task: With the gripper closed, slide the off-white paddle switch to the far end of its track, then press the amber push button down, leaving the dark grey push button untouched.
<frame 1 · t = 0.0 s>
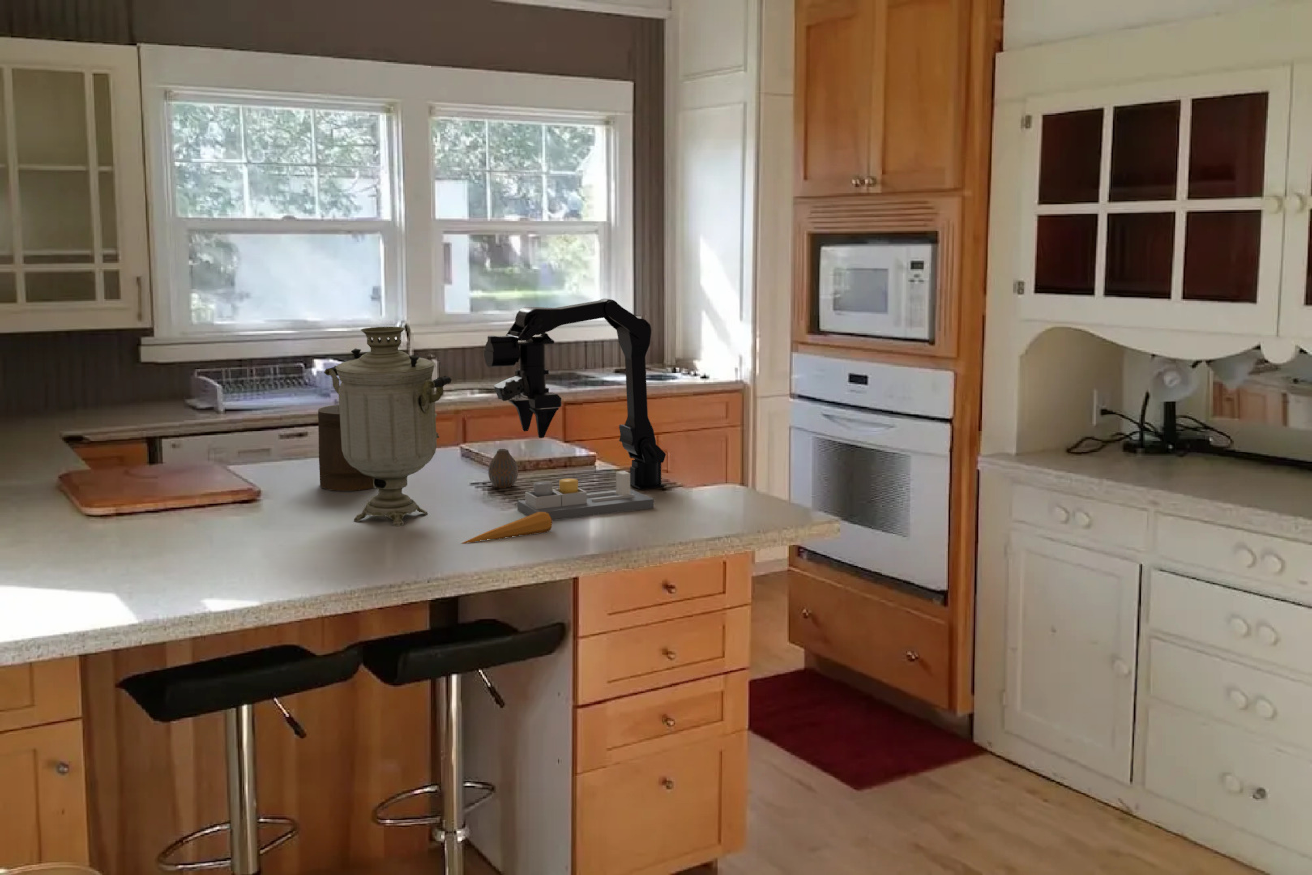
hand: (533, 434, 279), 15 cm above the worktop, fingers open, 9 cm apart
vase: (503, 487, 294), on the worktop
wooden container: (352, 485, 295), on the worktop
panel: (585, 508, 272), on the worktop
slider paddle: (623, 483, 276), point 5 cm above the worktop, slide at 0.0 cm
amber button: (568, 487, 270), point 5 cm above the worktop, slide at 0.0 cm
carrot: (505, 538, 250), on the worktop
grey button: (542, 490, 267), point 5 cm above the worktop, slide at 0.0 cm
samovar: (403, 516, 266), on the worktop
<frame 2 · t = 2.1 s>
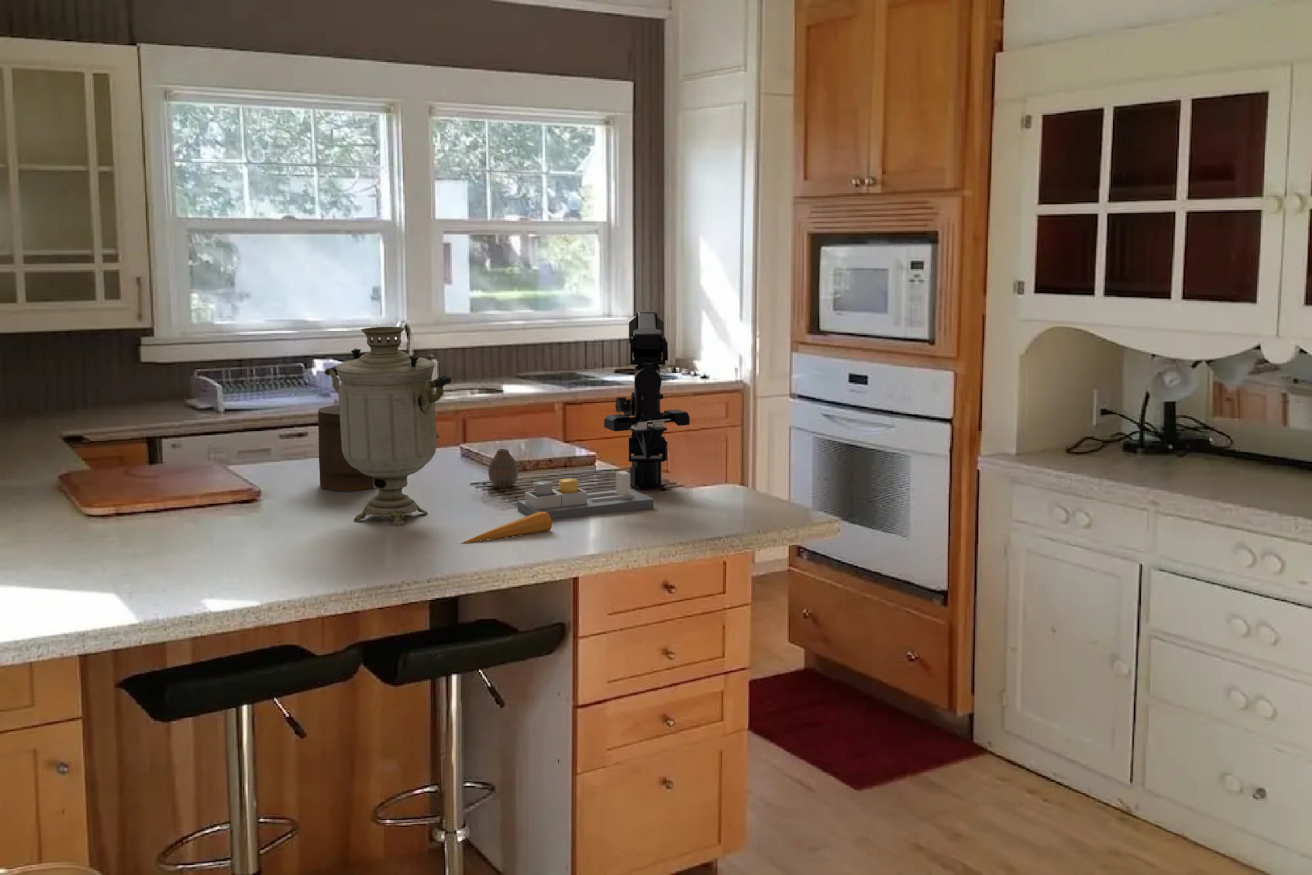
hand: (647, 458, 277), 10 cm above the worktop, fingers closed
nothing on the worktop moved.
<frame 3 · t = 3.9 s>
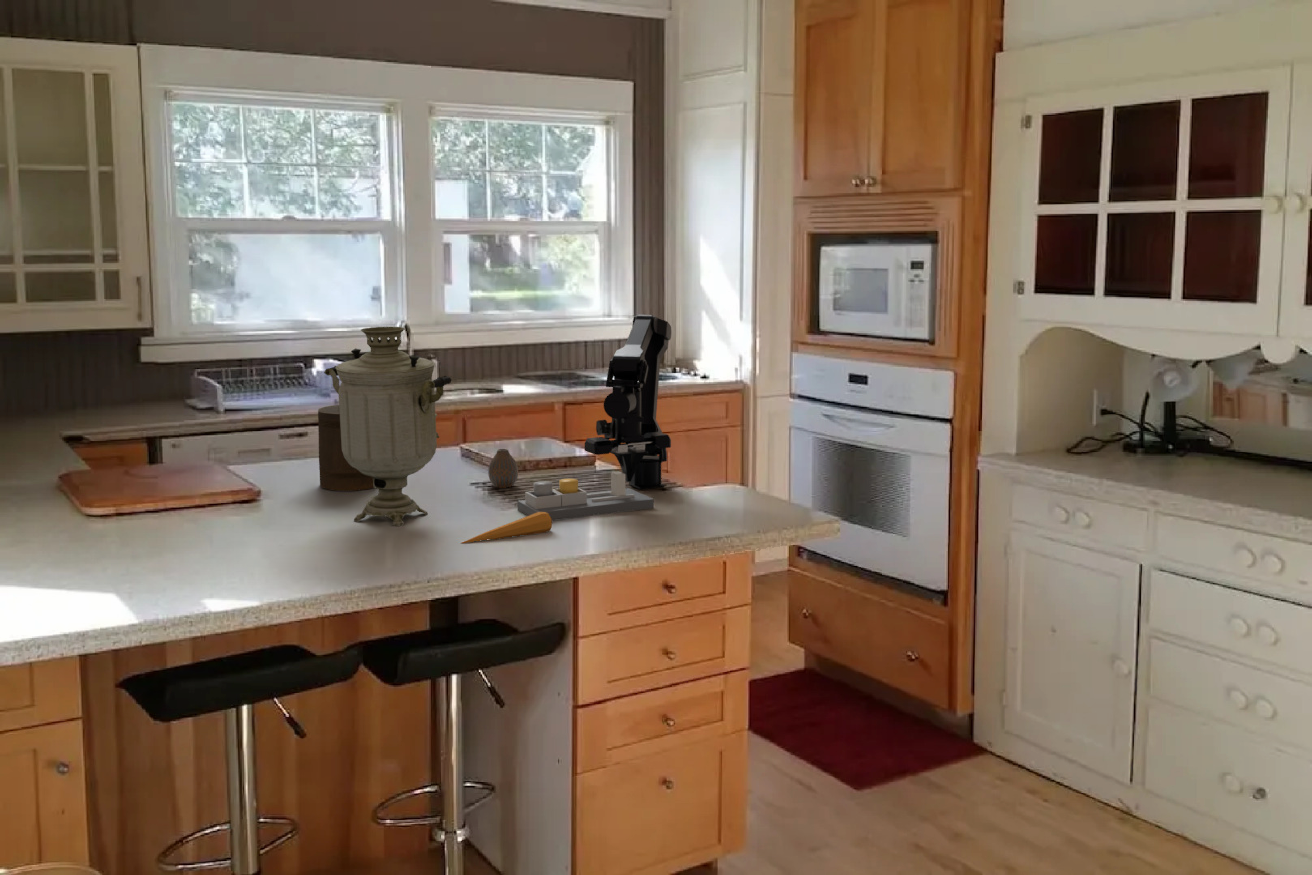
hand: (628, 481, 276), 5 cm above the worktop, fingers closed
slider paddle: (618, 484, 275), point 5 cm above the worktop, slide at 1.2 cm, touching gripper
everything else where it was.
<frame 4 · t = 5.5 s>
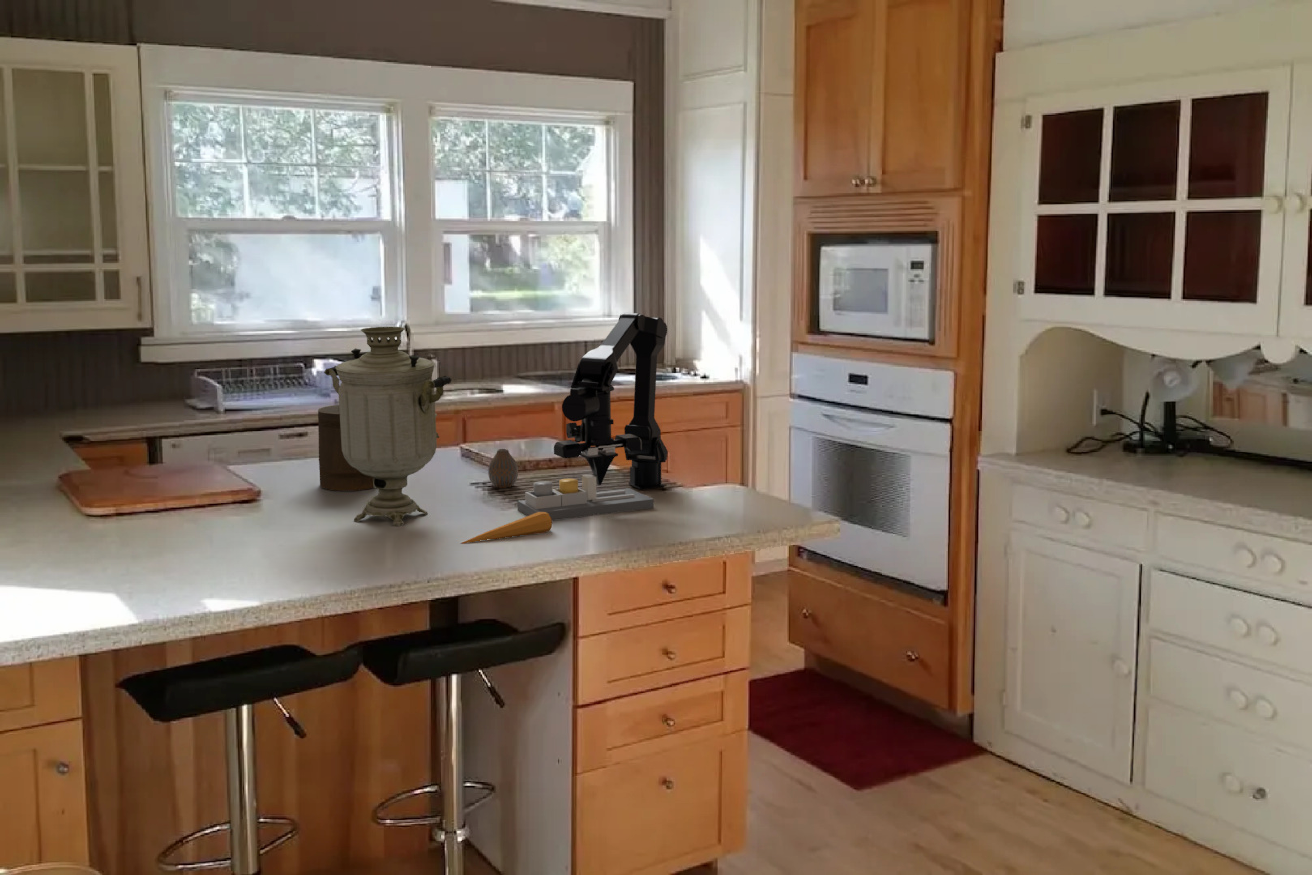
hand: (598, 484, 273), 5 cm above the worktop, fingers closed
slider paddle: (589, 487, 272), point 5 cm above the worktop, slide at 8.2 cm, touching gripper
everything else where it was.
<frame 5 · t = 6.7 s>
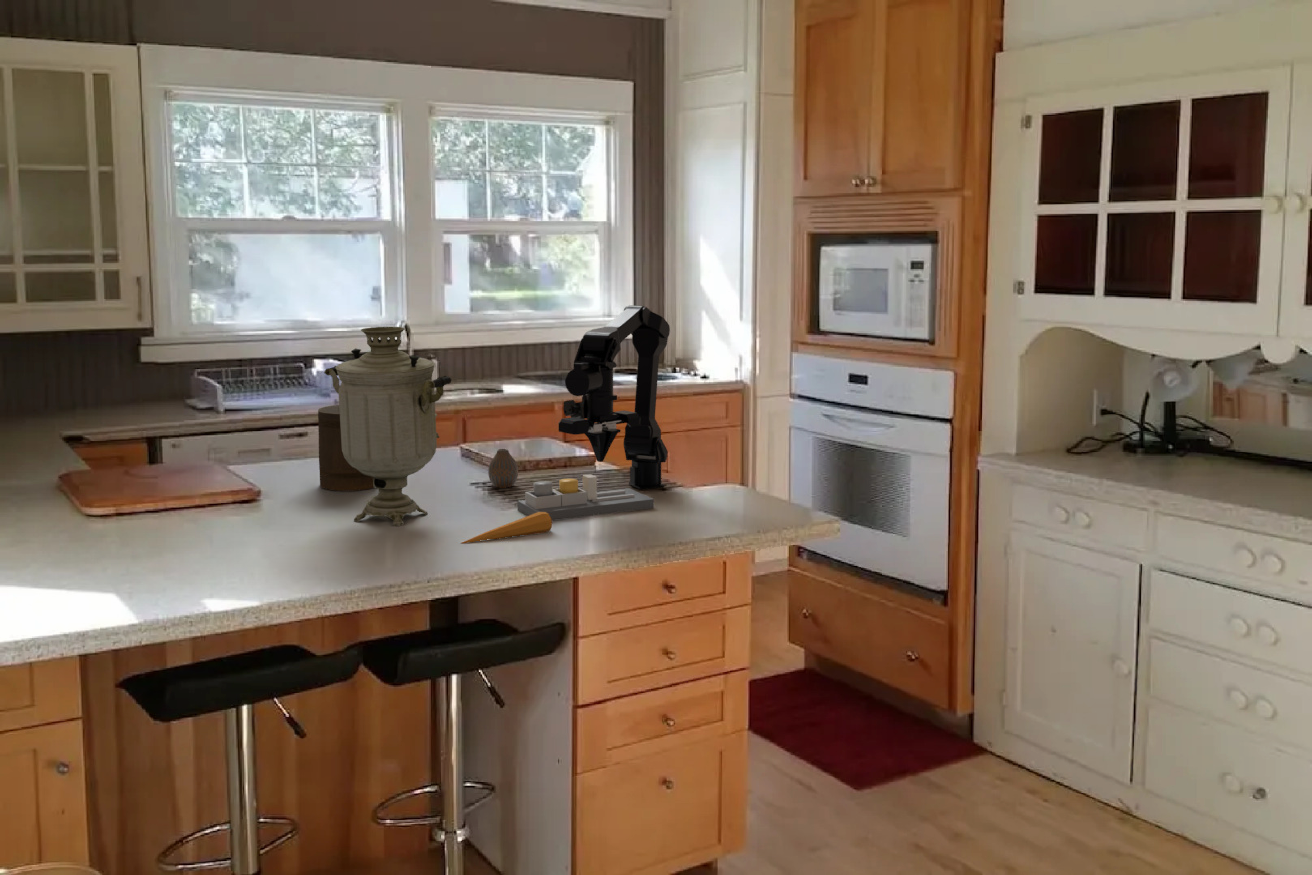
hand: (600, 461, 272), 10 cm above the worktop, fingers closed
slider paddle: (589, 487, 272), point 5 cm above the worktop, slide at 8.1 cm
everything else where it was.
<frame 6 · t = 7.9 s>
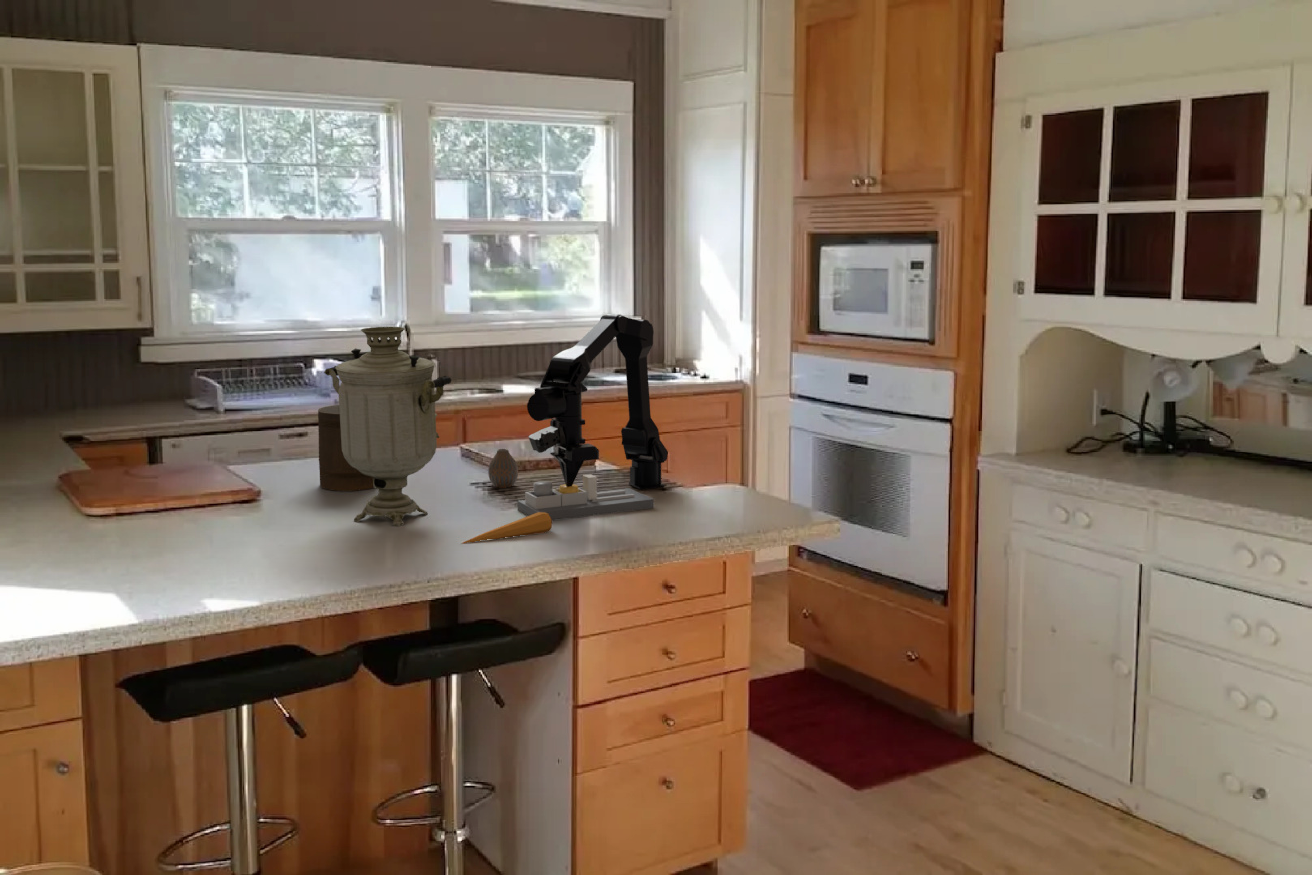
hand: (568, 486, 269), 5 cm above the worktop, fingers closed, pressing on amber button
amber button: (568, 492, 270), point 4 cm above the worktop, slide at 1.2 cm, touching gripper
everything else where it was.
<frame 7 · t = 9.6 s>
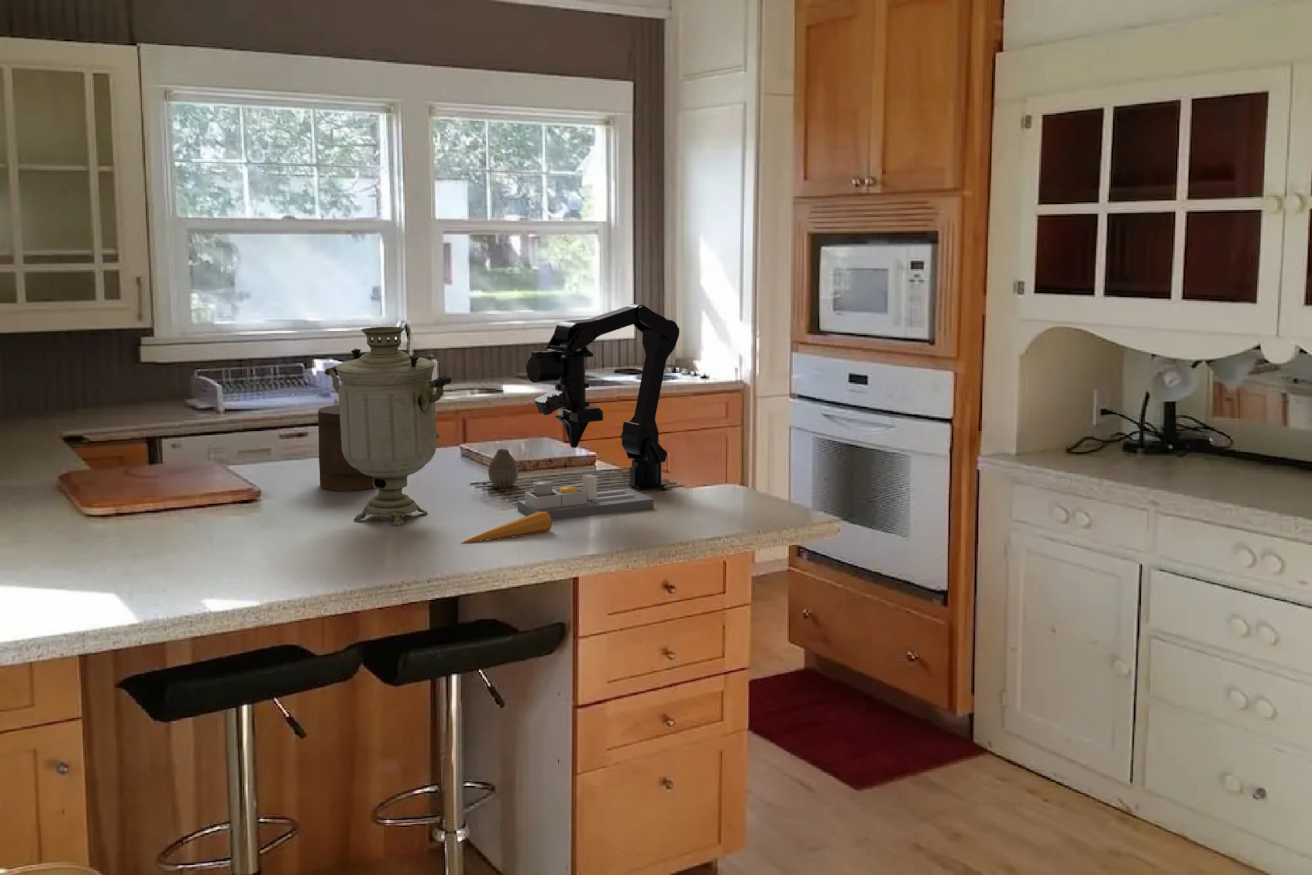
hand: (573, 447, 280), 12 cm above the worktop, fingers closed
amber button: (568, 494, 270), point 4 cm above the worktop, slide at 1.6 cm
everything else where it was.
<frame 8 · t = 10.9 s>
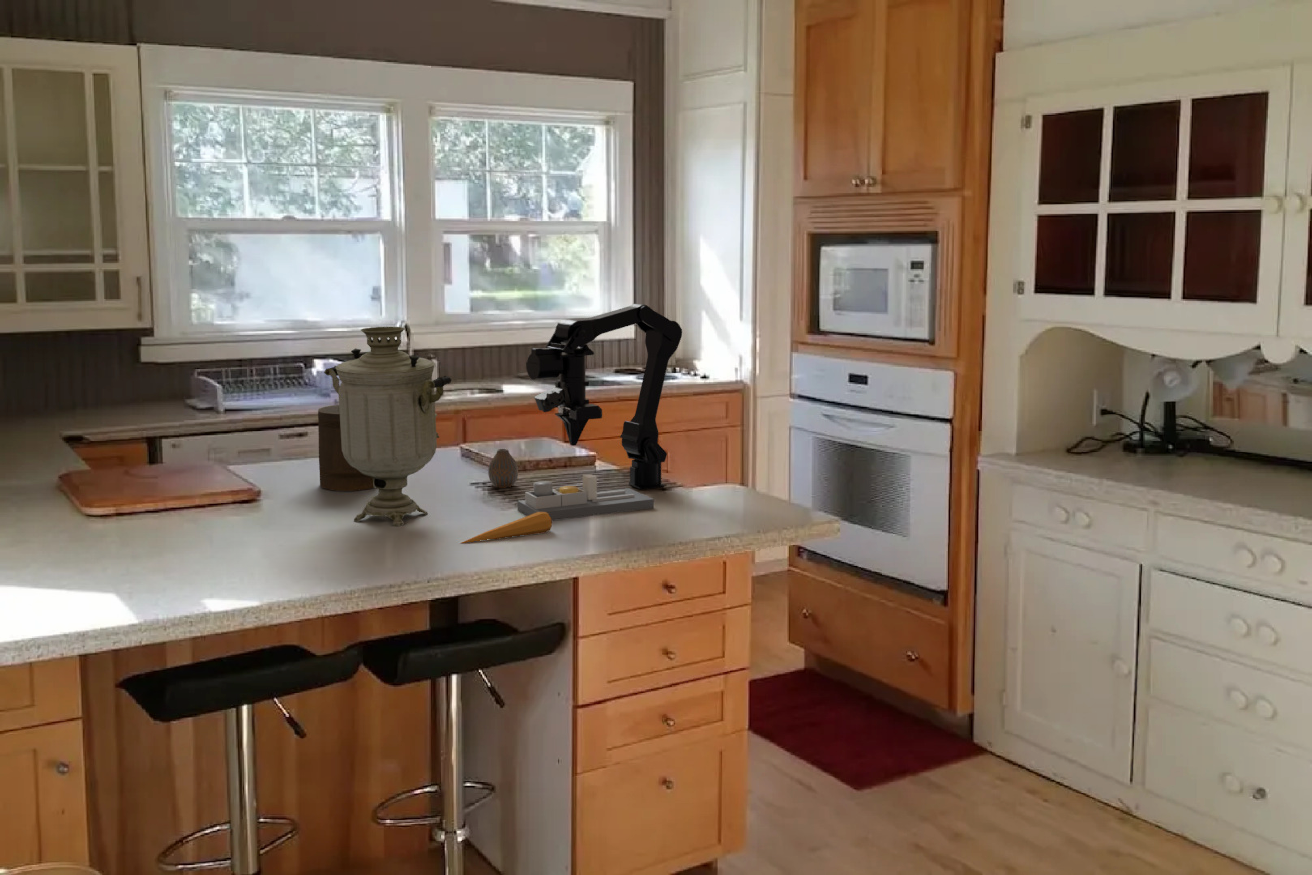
hand: (573, 445, 281), 12 cm above the worktop, fingers closed
nothing on the worktop moved.
at the end: slider paddle slide at 8.1 cm; amber button slide at 1.6 cm; grey button slide at 0.0 cm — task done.
